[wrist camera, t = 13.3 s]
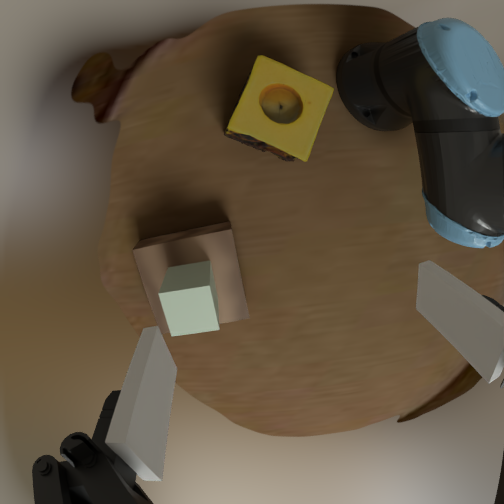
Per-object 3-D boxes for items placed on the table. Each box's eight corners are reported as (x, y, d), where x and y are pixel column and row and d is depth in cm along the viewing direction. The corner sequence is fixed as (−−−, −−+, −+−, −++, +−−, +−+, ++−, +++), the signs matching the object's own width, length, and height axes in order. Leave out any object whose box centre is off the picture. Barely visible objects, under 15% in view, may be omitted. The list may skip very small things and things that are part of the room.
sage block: (210, 260, 40) (209, 285, 32) (218, 298, 42) (219, 329, 34) (168, 267, 39) (158, 293, 32) (177, 305, 41) (171, 336, 34)
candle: (287, 162, 41) (308, 165, 32) (222, 136, 39) (224, 131, 30) (312, 101, 38) (338, 89, 29) (248, 74, 36) (258, 52, 27)
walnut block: (229, 220, 43) (231, 229, 39) (246, 302, 48) (249, 318, 44) (140, 239, 43) (132, 250, 38) (165, 317, 47) (161, 333, 43)
